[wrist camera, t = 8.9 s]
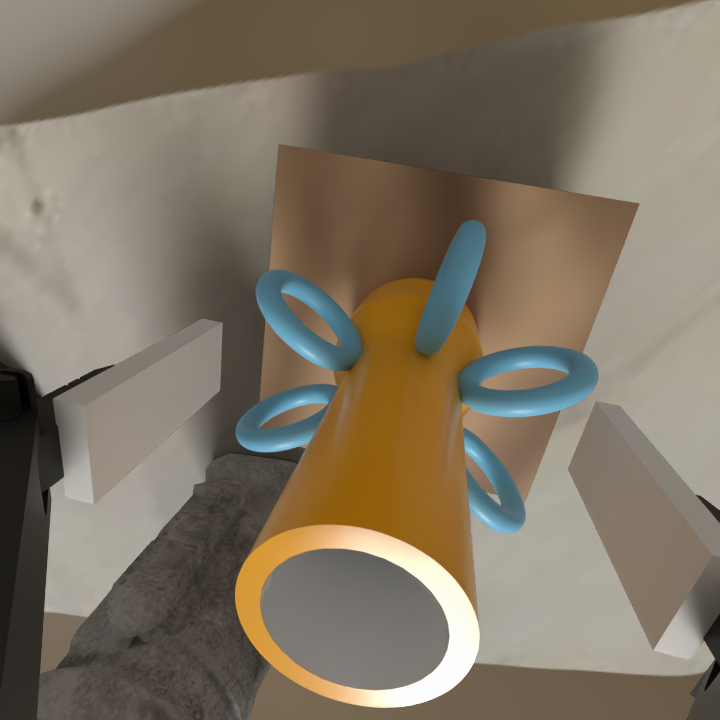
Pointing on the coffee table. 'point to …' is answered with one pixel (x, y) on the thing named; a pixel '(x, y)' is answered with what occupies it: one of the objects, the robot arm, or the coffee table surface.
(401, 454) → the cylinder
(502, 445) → the small wooden table
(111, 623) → the figurine
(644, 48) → the coffee table surface
